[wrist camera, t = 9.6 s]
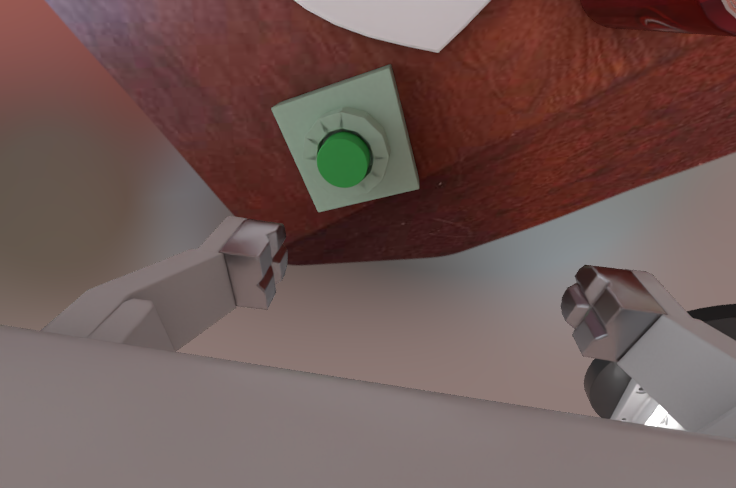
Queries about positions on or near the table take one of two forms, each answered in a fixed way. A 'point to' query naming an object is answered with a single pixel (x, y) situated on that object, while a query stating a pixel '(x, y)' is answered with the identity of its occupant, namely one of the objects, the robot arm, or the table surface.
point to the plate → (400, 19)
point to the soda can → (666, 15)
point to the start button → (343, 160)
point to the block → (357, 116)
